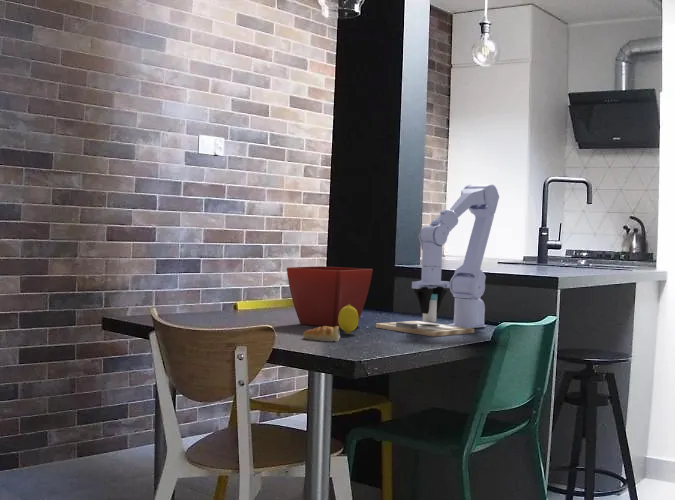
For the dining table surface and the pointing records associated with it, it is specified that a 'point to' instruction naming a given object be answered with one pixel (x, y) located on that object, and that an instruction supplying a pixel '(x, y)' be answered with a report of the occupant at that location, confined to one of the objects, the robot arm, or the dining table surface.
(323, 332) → the pastry
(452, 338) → the dining table surface
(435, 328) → the clipboard
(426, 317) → the white jar teal lid
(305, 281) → the plant pot
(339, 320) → the lemon
